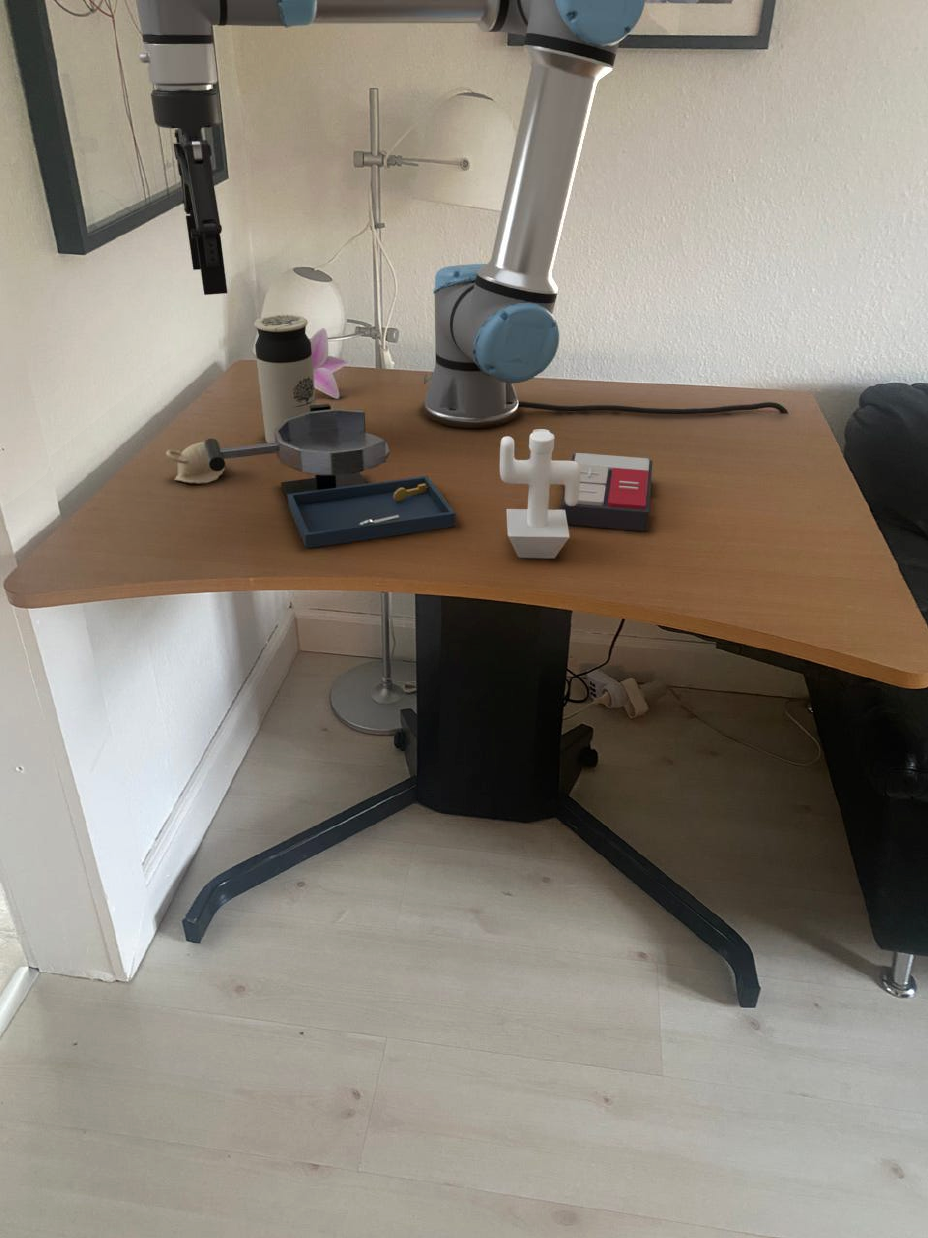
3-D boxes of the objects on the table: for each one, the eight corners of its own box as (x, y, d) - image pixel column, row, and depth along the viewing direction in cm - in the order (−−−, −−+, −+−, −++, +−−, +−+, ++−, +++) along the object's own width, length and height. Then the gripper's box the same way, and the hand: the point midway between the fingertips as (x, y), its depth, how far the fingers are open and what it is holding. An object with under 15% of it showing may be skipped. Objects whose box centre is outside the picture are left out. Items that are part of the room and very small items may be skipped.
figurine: (576, 564, 114) (586, 446, 106) (497, 563, 114) (501, 444, 106) (571, 536, 120) (580, 422, 112) (496, 535, 120) (500, 421, 112)
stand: (359, 478, 134) (355, 392, 127) (368, 492, 130) (364, 404, 123) (281, 488, 131) (272, 400, 124) (288, 503, 127) (278, 413, 120)
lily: (263, 403, 162) (267, 362, 154) (283, 357, 169) (289, 315, 161) (330, 426, 164) (339, 386, 156) (349, 379, 170) (357, 339, 162)
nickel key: (355, 529, 119) (357, 532, 119) (359, 521, 118) (361, 524, 118) (395, 520, 122) (396, 522, 122) (399, 512, 120) (400, 514, 120)
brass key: (396, 490, 125) (395, 488, 125) (393, 502, 126) (391, 501, 126) (428, 483, 129) (427, 481, 129) (425, 495, 130) (423, 494, 130)
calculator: (561, 498, 120) (573, 447, 132) (559, 528, 123) (571, 475, 135) (649, 506, 119) (653, 454, 131) (646, 536, 121) (649, 482, 133)
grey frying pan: (372, 426, 126) (371, 403, 124) (402, 468, 114) (401, 444, 112) (201, 445, 120) (198, 421, 118) (215, 493, 108) (211, 467, 106)
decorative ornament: (232, 476, 134) (227, 440, 132) (176, 491, 130) (170, 455, 127) (218, 467, 137) (213, 431, 134) (163, 482, 133) (157, 445, 130)
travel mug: (256, 438, 146) (242, 319, 137) (301, 426, 150) (291, 310, 141) (282, 454, 141) (269, 332, 131) (328, 441, 145) (319, 322, 136)
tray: (427, 488, 131) (427, 475, 130) (455, 526, 122) (455, 513, 121) (288, 506, 126) (287, 493, 125) (306, 548, 116) (304, 534, 115)
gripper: (143, 80, 117) (171, 261, 129) (157, 95, 97) (188, 307, 109) (206, 79, 119) (227, 257, 131) (231, 94, 99) (254, 302, 111)
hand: (209, 280), depth 120 cm, fingers open, 13 cm apart
